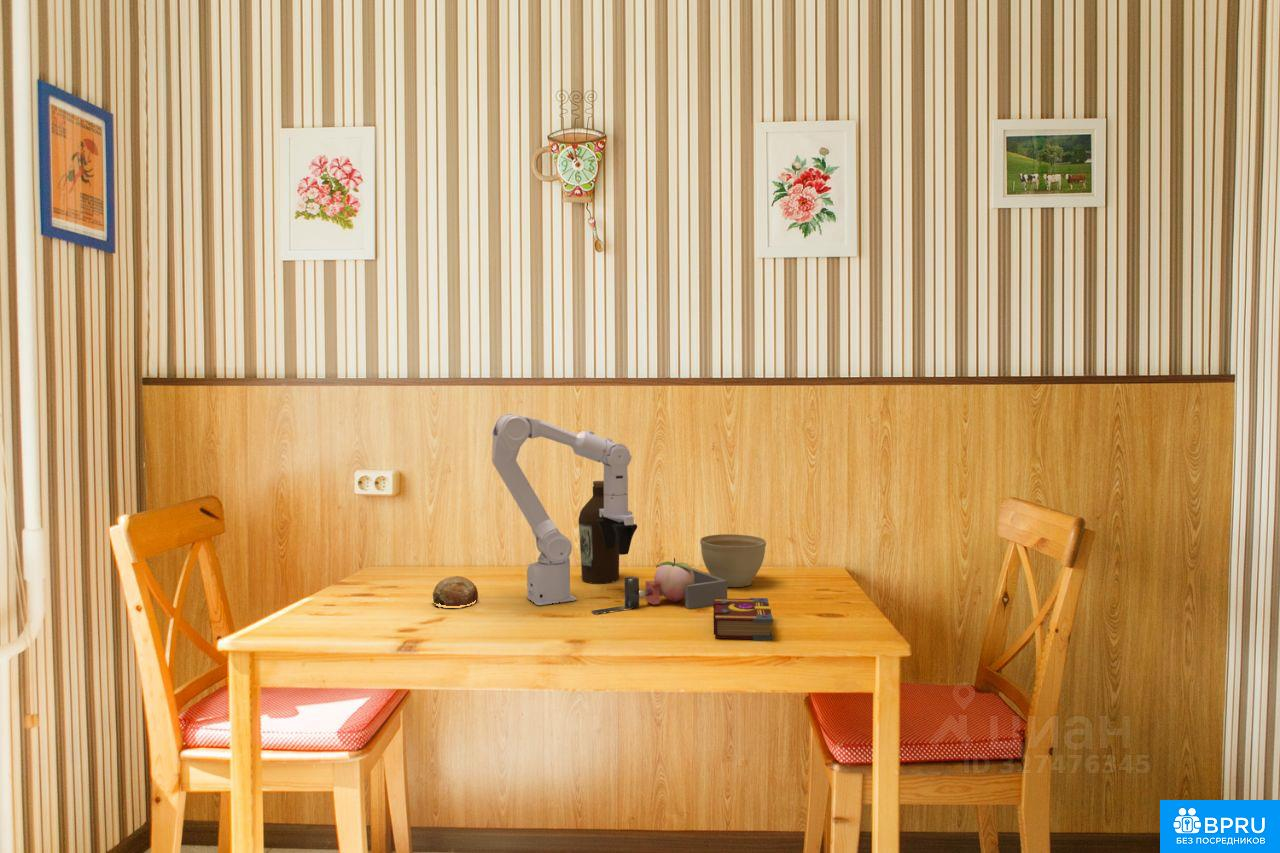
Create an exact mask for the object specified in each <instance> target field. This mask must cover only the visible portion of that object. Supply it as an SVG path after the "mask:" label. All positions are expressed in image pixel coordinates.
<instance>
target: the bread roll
mask: <svg viewBox="0 0 1280 853" xmlns="http://www.w3.org/2000/svg"><path fill="white" fill-rule="evenodd" d="M478 598H479V592H478V588H477V586H476V585H475V584H474V582H472V580H470V579H468V578H466V577H463V576H459V575H455V576H447V577H446V578H444V579H441V580H440V581H439V582H438V583H437V584H436V585H435V587H434V589H433V592H432V599H433V600H432V602H434V603H436V604H439V603H440V604H441V605H446V606H460V605H467V604H470V603H472V602H474V601H475V600H477V601H478ZM434 603H433V604H434Z"/></svg>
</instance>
